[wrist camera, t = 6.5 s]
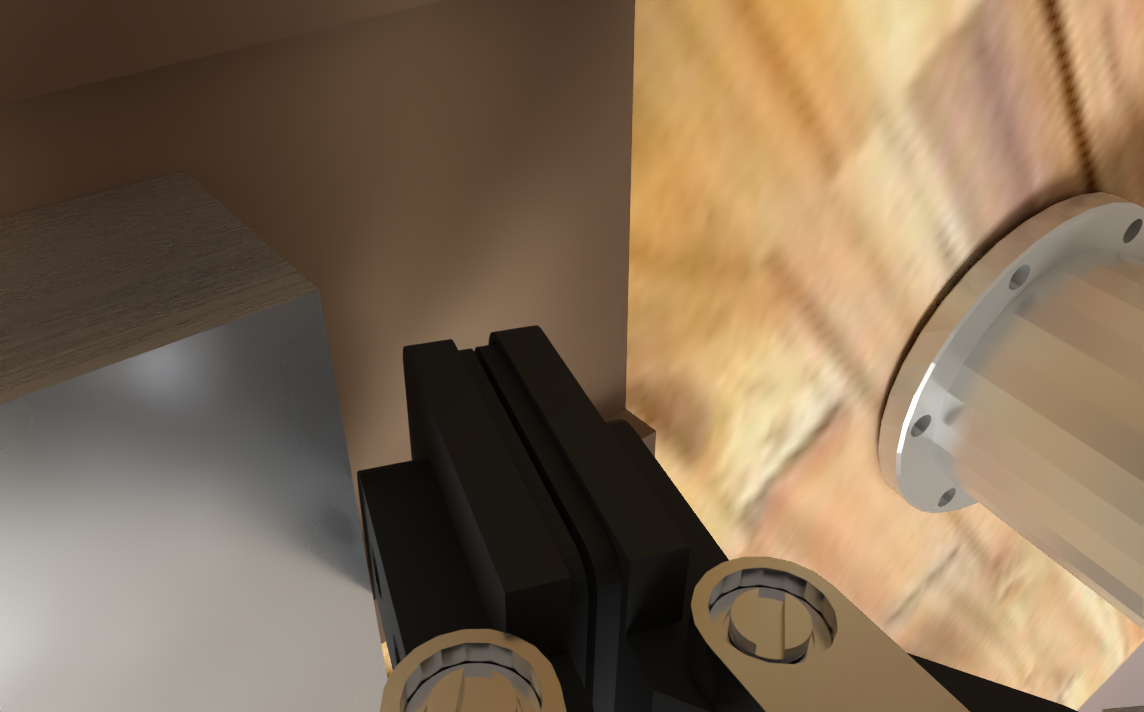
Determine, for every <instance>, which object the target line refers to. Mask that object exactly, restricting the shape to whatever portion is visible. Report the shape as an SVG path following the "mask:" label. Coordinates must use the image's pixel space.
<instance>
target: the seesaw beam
mask: <svg viewBox="0 0 1144 712" xmlns="http://www.w3.org/2000/svg"><path fill="white" fill-rule="evenodd" d="M634 18H635V0H0V218H1V217H4V216H8V215H12V214H16V213H20V212H24V211H28V210H31V209H35V208H39V207H43V206H47V205H51V204H55V203H59V202H62V201H66V200H70V199H74V198H78V197H82V196H86V195H89V194H93V193H97V192H101V191H105V190H109V189H113V188H117V187H120V186H124V185H128V184H132V183H136V182H140V181H144V180H147V179H151V178H155V177H159V176H163V175H167V174H171V173H175V172H178V171H184V172H185V173H186V174H187V175H188V176H189V177H190V178H192V179H193V180H194V181H195V182H196V183H197V184H198V185H200V186H201V187H202V188H203V189H204V190H205V191H206V192H208V193H209V194H210V195H211V196H212V197H213V198H214V199H216V200H217V201H218V202H219V203H220V204H221V205H222V206H224V207H225V208H226V209H227V210H228V211H229V212H230V213H232V214H233V215H234V216H235V217H236V218H237V219H238V220H240V221H241V222H242V223H243V224H244V225H245V226H246V227H248V228H249V229H250V230H251V231H252V232H253V233H254V234H256V235H257V236H258V237H259V238H260V239H261V240H262V241H264V242H265V243H266V244H267V245H268V246H269V247H270V248H272V249H273V250H274V251H275V252H276V253H277V254H278V255H280V256H281V257H282V258H283V259H284V260H285V261H286V262H288V263H289V264H290V265H291V266H292V267H293V268H294V269H296V270H297V271H298V272H299V273H300V274H301V275H302V276H304V277H305V278H306V279H307V280H308V281H309V282H310V283H312V284H313V285H314V286H315V287H316V288H317V289H318V290H319V291H320V297H321V303H322V308H323V314H324V320H325V325H326V331H327V337H328V343H329V348H330V354H331V360H332V366H333V371H334V377H335V383H336V388H337V394H338V400H339V406H340V411H341V417H342V423H343V428H344V434H345V440H346V446H347V451H348V457H349V463H350V468H351V474H352V480H353V486H354V491H355V497H356V503H357V509H358V514H359V520H360V526H361V531H362V537H363V543H364V549H365V554H366V560H367V566H368V571H369V577H370V583H371V589H372V594H373V600H374V606H375V612H376V617H377V623H378V629H379V634H380V640H381V644H382V643H383V642H385V641H386V638H385V634H384V630H383V625H382V621H381V617H380V613H379V608H378V604H377V600H376V595H375V591H374V586H373V581H372V576H371V571H370V565H369V560H368V554H367V548H366V542H365V536H364V529H363V522H362V514H361V506H360V499H359V491H358V482H357V471H360V470H365V469H370V468H375V467H380V466H385V465H390V464H396V463H401V462H406V461H411V460H412V457H411V446H410V435H409V424H408V413H407V401H406V390H405V379H404V368H403V347H404V346H409V345H415V344H421V343H428V342H434V341H441V340H447V339H452V340H453V341H454V343H455V345H456V347H457V349H458V350H463V349H469V348H471V349H473V351H475V348H476V347H479V346H485V345H488V343H489V336H490V334H491V332H495V331H502V330H508V329H514V328H521V327H527V326H533V325H538V326H539V327H540V328H541V329H542V330H543V332H544V333H545V335H546V336H547V337H548V339H549V340H550V342H551V343H552V345H553V346H554V348H555V349H556V351H557V352H558V354H559V355H560V357H561V358H562V359H563V361H564V362H565V364H566V365H567V367H568V368H569V370H570V371H571V373H572V374H573V376H574V377H575V378H576V380H577V381H578V383H579V384H580V386H581V387H582V389H583V390H584V392H585V393H586V395H587V396H588V398H589V399H590V400H591V402H592V403H593V405H594V406H595V408H596V409H597V411H598V412H599V414H600V415H601V417H602V418H603V419H604V421H605V422H607V421H612V420H617V419H622V420H625V421H627V422H628V423H629V424H630V425H631V426H632V427H633V428H634V429H635V431H636V432H637V434H638V435H639V436H640V438H641V439H642V440H643V442H644V443H645V445H646V446H647V447H648V449H649V450H650V452H651V453H652V454H653V456H654V457H655V439H656V431H655V430H654V429H653V428H651V427H650V426H649V425H647V424H646V423H644V422H643V421H642V420H640V419H639V418H638V417H636V416H635V415H633V414H632V413H631V412H629V411H628V410H627V409H625V403H626V361H627V318H628V275H629V232H630V189H631V147H632V104H633V61H634Z"/></svg>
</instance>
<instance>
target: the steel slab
mask: <svg viewBox="0 0 1144 712" xmlns="http://www.w3.org/2000/svg"><path fill="white" fill-rule="evenodd" d="M387 681H388V680H387V674H386V669H385V663H384V657H383V652H382V646H381V640H380V634H379V629H378V623H377V617H376V612H375V606H374V600H373V594H372V589H371V583H370V577H369V571H368V566H367V560H366V554H365V549H364V543H363V537H362V531H361V526H360V520H359V514H358V509H357V503H356V497H355V491H354V486H353V480H352V474H351V468H350V463H349V457H348V451H347V446H346V440H345V434H344V428H343V423H342V417H341V411H340V406H339V400H338V394H337V388H336V383H335V377H334V371H333V366H332V360H331V354H330V348H329V343H328V337H327V331H326V325H325V320H324V314H323V308H322V303H321V297H320V291H319V290H318V289H317V288H316V287H315V286H314V285H313V284H312V283H310V282H309V281H308V280H307V279H306V278H305V277H304V276H302V275H301V274H300V273H299V272H298V271H297V270H296V269H294V268H293V267H292V266H291V265H290V264H289V263H288V262H286V261H285V260H284V259H283V258H282V257H281V256H280V255H278V254H277V253H276V252H275V251H274V250H273V249H272V248H270V247H269V246H268V245H267V244H266V243H265V242H264V241H262V240H261V239H260V238H259V237H258V236H257V235H256V234H254V233H253V232H252V231H251V230H250V229H249V228H248V227H246V226H245V225H244V224H243V223H242V222H241V221H240V220H238V219H237V218H236V217H235V216H234V215H233V214H232V213H230V212H229V211H228V210H227V209H226V208H225V207H224V206H222V205H221V204H220V203H219V202H218V201H217V200H216V199H214V198H213V197H212V196H211V195H210V194H209V193H208V192H206V191H205V190H204V189H203V188H202V187H201V186H200V185H198V184H197V183H196V182H195V181H194V180H193V179H192V178H190V177H189V176H188V175H187V174H186V173H185V172H184V171H178V172H175V173H171V174H167V175H163V176H159V177H155V178H151V179H147V180H144V181H140V182H136V183H132V184H128V185H124V186H120V187H117V188H113V189H109V190H105V191H101V192H97V193H93V194H89V195H86V196H82V197H78V198H74V199H70V200H66V201H62V202H59V203H55V204H51V205H47V206H43V207H39V208H35V209H31V210H28V211H24V212H20V213H16V214H12V215H8V216H4V217H1V218H0V712H380V707H381V701H382V695H383V689H384V686H385V685H386V683H387Z"/></svg>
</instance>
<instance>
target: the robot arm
mask: <svg viewBox="0 0 1144 712" xmlns="http://www.w3.org/2000/svg"><path fill="white" fill-rule="evenodd" d="M403 368H404V379H405V390H406V401H407V413H408V424H409V435H410V446H411V457H412V460H411V461H406V462H401V463H396V464H390V465H385V466H380V467H375V468H370V469H365V470H360V471H357V482H358V491H359V499H360V506H361V514H362V522H363V529H364V536H365V542H366V548H367V554H368V560H369V565H370V571H371V576H372V581H373V586H374V591H375V595H376V600H377V604H378V608H379V613H380V617H381V621H382V625H383V630H384V634H385V638H386V642H387V646H388V651H389V655H390V659H391V663H392V668H393V672H392V674H391V676H390V678H389V679H388V681H387V683H386V685H385V686H384V689H383V695H382V701H381V707H380V712H1078V711H1075V710H1073V709H1071V708H1069V707H1066V706H1064V705H1061V704H1058V703H1055V702H1052V701H1049V700H1046V699H1043V698H1040V697H1037V696H1034V695H1031V694H1028V693H1025V692H1022V691H1019V690H1016V689H1013V688H1010V687H1007V686H1004V685H1001V684H998V683H995V682H992V681H989V680H986V679H983V678H980V677H977V676H974V675H971V674H968V673H965V672H962V671H959V670H956V669H953V668H950V667H947V666H944V665H941V664H939V663H936V662H933V661H930V660H927V659H924V658H921V657H918V656H915V655H912V654H909V653H906V652H905V651H904V650H903V649H902V648H901V647H900V646H898V645H897V644H896V643H895V642H894V641H893V640H892V639H891V638H890V637H889V636H888V635H887V634H885V633H884V632H883V631H882V630H881V629H880V628H879V627H878V626H877V625H876V624H875V623H874V622H872V621H871V620H870V619H869V618H868V617H867V616H866V615H865V614H864V613H863V612H862V611H860V610H859V609H858V608H857V607H856V606H855V605H854V604H853V603H852V602H851V601H850V600H849V599H847V598H846V597H845V596H844V595H843V594H842V593H841V592H840V591H839V590H838V589H837V588H836V587H834V586H833V585H832V584H831V583H829V582H828V581H827V580H825V579H824V578H822V577H821V576H820V575H818V574H817V573H815V572H814V571H812V570H810V569H807V568H805V567H803V566H800V565H798V564H796V563H793V562H791V561H786V560H781V559H777V558H772V557H741V558H737V559H733V560H730V561H729V560H728V558H727V557H726V555H725V554H724V553H723V551H722V550H721V549H720V547H719V546H718V544H717V543H716V542H715V540H714V539H713V537H712V536H711V535H710V533H709V532H708V531H707V529H706V528H705V526H704V525H703V524H702V522H701V521H700V519H699V518H698V517H697V515H696V514H695V513H694V511H693V510H692V508H691V507H690V506H689V504H688V503H687V501H686V500H685V499H684V497H683V496H682V495H681V493H680V492H679V490H678V489H677V488H676V486H675V485H674V483H673V482H672V481H671V479H670V478H669V477H668V475H667V474H666V472H665V471H664V470H663V468H662V467H661V465H660V464H659V463H658V461H657V460H656V459H655V457H654V456H653V454H652V453H651V452H650V450H649V449H648V447H647V446H646V445H645V443H644V442H643V440H642V439H641V438H640V436H639V435H638V434H637V432H636V431H635V429H634V428H633V427H632V426H631V425H630V424H629V423H628V422H627V421H625V420H622V419H617V420H612V421H607V422H605V421H604V419H603V418H602V417H601V415H600V414H599V412H598V411H597V409H596V408H595V406H594V405H593V403H592V402H591V400H590V399H589V398H588V396H587V395H586V393H585V392H584V390H583V389H582V387H581V386H580V384H579V383H578V381H577V380H576V378H575V377H574V376H573V374H572V373H571V371H570V370H569V368H568V367H567V365H566V364H565V362H564V361H563V359H562V358H561V357H560V355H559V354H558V352H557V351H556V349H555V348H554V346H553V345H552V343H551V342H550V340H549V339H548V337H547V336H546V335H545V333H544V332H543V330H542V329H541V328H540V327H539V326H538V325H533V326H527V327H521V328H514V329H508V330H502V331H495V332H491V334H490V336H489V343H488V345H485V346H479V347H476V348H475V351H473V349H471V348H469V349H463V350H458V349H457V347H456V345H455V343H454V341H453V340H452V339H447V340H441V341H434V342H428V343H421V344H415V345H409V346H404V347H403ZM878 453H879V462H880V470H881V472H882V474H883V477H884V479H885V481H886V483H887V485H888V486H889V487H890V488H891V489H893V490H894V491H895V492H896V493H897V494H898V495H899V496H900V497H901V498H903V499H904V500H905V501H906V502H907V503H908V504H909V505H911V506H913V507H915V508H917V509H919V510H920V511H924V512H930V513H941V512H947V511H954V510H959V509H962V508H964V507H967V506H970V505H972V504H975V503H978V502H979V503H980V504H982V505H983V506H984V507H986V508H987V509H988V510H989V511H991V512H992V513H993V514H995V515H996V516H997V517H999V518H1000V519H1001V520H1002V521H1004V522H1005V523H1006V524H1008V525H1009V526H1010V527H1011V528H1013V529H1014V530H1015V531H1017V532H1018V533H1019V534H1020V535H1022V536H1023V537H1024V538H1026V539H1027V540H1028V541H1029V542H1031V543H1032V544H1033V545H1035V546H1036V547H1037V548H1039V549H1040V550H1041V551H1042V552H1044V553H1045V554H1046V555H1048V556H1049V557H1050V558H1051V559H1053V560H1054V561H1055V562H1057V563H1058V564H1059V565H1060V566H1062V567H1063V568H1064V569H1066V570H1067V571H1068V572H1069V573H1071V574H1072V575H1073V576H1075V577H1076V578H1077V579H1079V580H1080V581H1081V582H1082V583H1084V584H1085V585H1086V586H1088V587H1089V588H1090V589H1091V590H1093V591H1094V592H1095V593H1097V594H1098V595H1099V596H1100V597H1102V598H1103V599H1104V600H1106V601H1107V602H1108V603H1109V604H1111V605H1112V606H1113V607H1115V608H1116V609H1117V610H1118V611H1120V612H1121V613H1122V614H1124V615H1125V616H1126V617H1128V618H1129V619H1130V620H1131V621H1133V622H1134V623H1135V624H1137V625H1138V626H1139V627H1140V628H1142V629H1143V630H1144V208H1143V207H1141V206H1139V205H1137V204H1135V203H1133V202H1130V201H1128V200H1126V199H1124V198H1122V197H1120V196H1116V195H1112V194H1108V193H1104V192H1098V193H1090V194H1081V195H1078V196H1075V197H1073V198H1070V199H1067V200H1065V201H1062V202H1059V203H1056V204H1054V205H1052V206H1050V207H1048V208H1047V209H1045V210H1043V211H1041V212H1040V213H1038V214H1036V215H1035V216H1033V217H1031V218H1029V219H1028V220H1026V221H1024V222H1023V223H1022V224H1021V225H1019V226H1018V227H1017V228H1015V229H1014V230H1013V231H1012V232H1010V233H1009V234H1008V235H1006V236H1005V237H1004V238H1003V239H1001V240H1000V241H999V242H997V243H996V244H995V245H994V246H993V247H992V248H991V249H990V250H989V251H988V252H987V253H986V254H985V255H984V256H983V257H982V258H981V259H980V260H979V261H978V262H976V263H975V264H974V265H973V266H972V267H971V268H970V269H969V270H968V272H967V273H966V274H965V275H964V276H963V277H962V279H961V280H960V281H959V282H958V283H957V284H956V286H955V287H954V288H953V289H952V290H951V291H950V293H949V294H948V295H947V296H946V297H945V298H944V300H943V301H942V302H941V304H940V305H939V307H938V308H937V309H936V311H935V312H934V314H933V315H932V317H931V318H930V319H929V321H928V322H927V324H926V325H925V326H924V328H923V329H922V331H921V332H920V334H919V336H918V338H917V339H916V341H915V343H914V345H913V346H912V348H911V350H910V352H909V353H908V355H907V357H906V359H905V360H904V362H903V364H902V366H901V369H900V371H899V373H898V375H897V378H896V380H895V382H894V385H893V387H892V389H891V391H890V394H889V397H888V400H887V404H886V407H885V411H884V414H883V418H882V421H881V428H880V436H879V445H878ZM1102 712H1144V706H1133V707H1123V708H1111V709H1103V710H1102Z"/></svg>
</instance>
